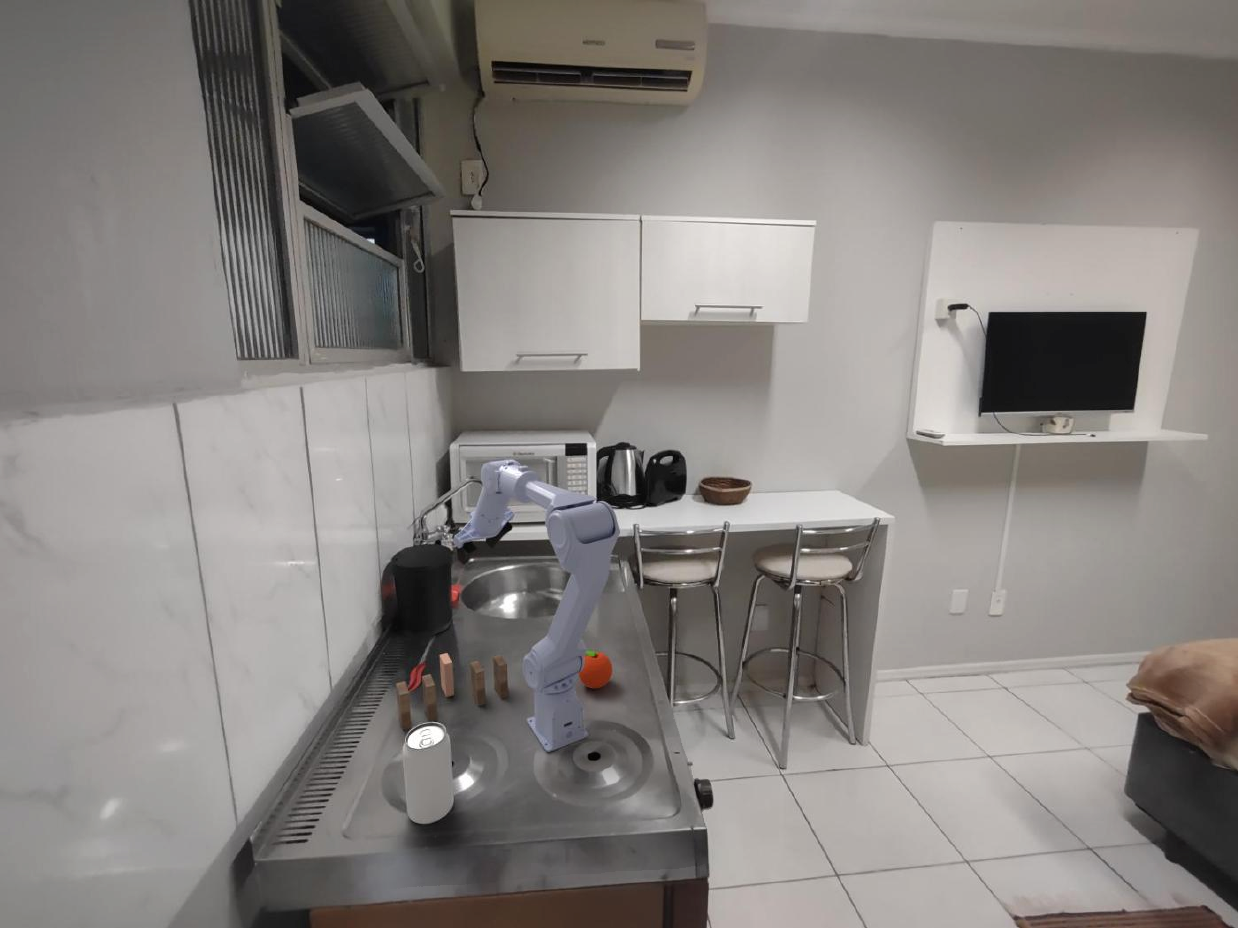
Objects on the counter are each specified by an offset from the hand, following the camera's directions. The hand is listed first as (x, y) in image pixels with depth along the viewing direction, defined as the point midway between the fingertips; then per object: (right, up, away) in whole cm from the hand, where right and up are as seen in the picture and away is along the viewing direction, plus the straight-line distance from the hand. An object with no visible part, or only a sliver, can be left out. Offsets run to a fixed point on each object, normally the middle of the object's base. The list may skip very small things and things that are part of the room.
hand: (476, 552), depth 113 cm
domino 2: (-5, -28, -14) cm, 31 cm away
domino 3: (-4, -26, -6) cm, 27 cm away
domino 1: (-9, -28, -16) cm, 34 cm away
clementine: (+25, -26, -4) cm, 37 cm away
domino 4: (+3, -27, -9) cm, 29 cm away
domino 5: (+7, -27, -7) cm, 28 cm away
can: (+3, -32, -35) cm, 47 cm away
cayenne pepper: (-12, -26, -2) cm, 29 cm away
